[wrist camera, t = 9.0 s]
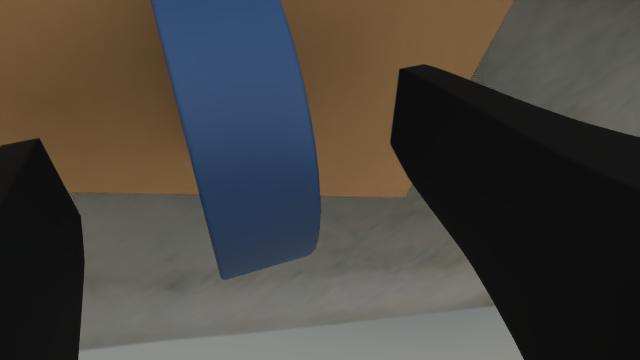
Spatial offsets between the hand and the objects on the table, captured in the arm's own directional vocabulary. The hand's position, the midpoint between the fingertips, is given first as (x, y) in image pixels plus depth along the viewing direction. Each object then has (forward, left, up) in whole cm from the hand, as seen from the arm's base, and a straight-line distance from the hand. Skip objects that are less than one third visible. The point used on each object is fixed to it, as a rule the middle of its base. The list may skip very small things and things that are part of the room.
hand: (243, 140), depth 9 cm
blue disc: (0, 0, -1) cm, 1 cm away
